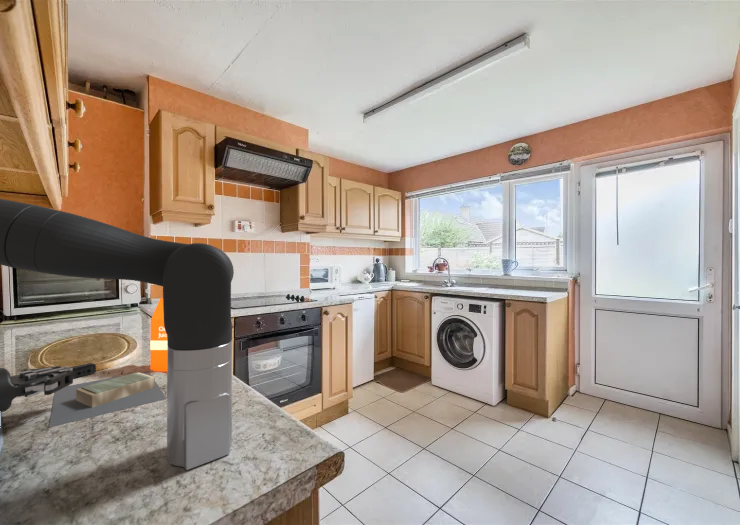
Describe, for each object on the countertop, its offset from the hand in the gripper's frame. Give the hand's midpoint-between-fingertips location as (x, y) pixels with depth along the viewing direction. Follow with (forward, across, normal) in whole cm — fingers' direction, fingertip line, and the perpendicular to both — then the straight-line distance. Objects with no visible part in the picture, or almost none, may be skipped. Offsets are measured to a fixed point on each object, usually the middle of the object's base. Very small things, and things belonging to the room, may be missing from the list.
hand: (93, 367), depth 68 cm
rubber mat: (+4, +2, +8) cm, 9 cm away
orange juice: (+23, +10, +8) cm, 26 cm away
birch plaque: (-2, 0, +6) cm, 6 cm away
